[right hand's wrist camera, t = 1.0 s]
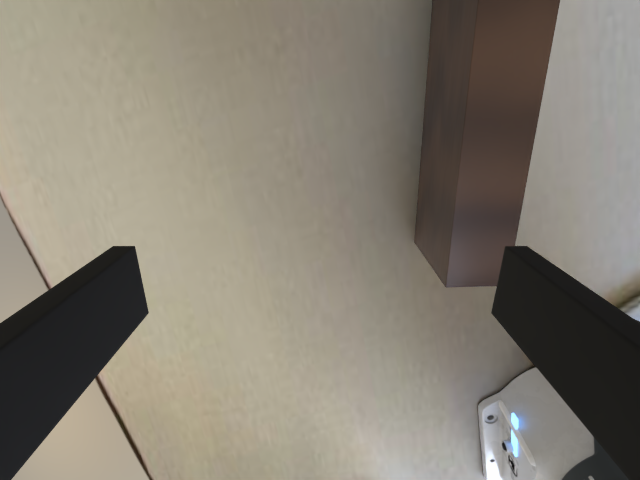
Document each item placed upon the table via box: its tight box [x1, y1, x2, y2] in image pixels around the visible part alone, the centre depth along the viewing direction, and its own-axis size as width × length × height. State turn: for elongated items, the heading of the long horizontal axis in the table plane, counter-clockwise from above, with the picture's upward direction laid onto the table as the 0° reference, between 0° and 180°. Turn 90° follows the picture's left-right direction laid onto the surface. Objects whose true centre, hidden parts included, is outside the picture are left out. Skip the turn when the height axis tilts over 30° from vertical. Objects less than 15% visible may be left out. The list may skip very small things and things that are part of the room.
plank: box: [415, 0, 560, 287], centre depth 28 cm, size 26×5×10 cm, turn 2°
